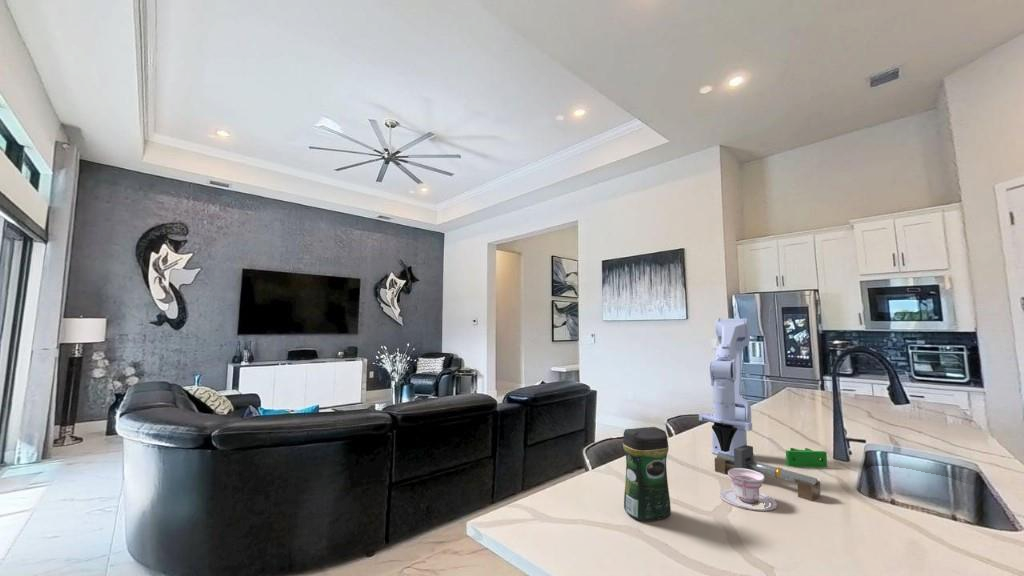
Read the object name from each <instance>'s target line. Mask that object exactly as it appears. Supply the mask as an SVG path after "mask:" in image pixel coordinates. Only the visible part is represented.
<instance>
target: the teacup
mask: <svg viewBox="0 0 1024 576" xmlns="http://www.w3.org/2000/svg"><path fill="white" fill-rule="evenodd" d="M727 475H728V477H729V478H731V482H732V483H733V487H732V488H726V489H722V490H721V491H720V492H719V497H720V499H722V501H724V502H726V503H728V504H729V505H732V506H734V507H737V508H741V509H744V510H749V511H757V512H769V511H773V510H776V509H777V507H778V504H777V501H776V500H774V498H772V497H770V496H768V495H766V494H765V493H762V492H760V488H761V487H762V484H763V483H764V481H765V478H766V477H765V475H764V474H763V473H760V472H757V471H754V470H750V469H744V468H733V469H730V470H729V471H728V473H727ZM737 498H738V499H737ZM756 501H758V503H759V502H760V503H763V504H764V503H765V505H764V508H765V509H753V508H750V507H752V505H753V506H755V505H757V504H758V503H755V502H756ZM753 503H754V504H753ZM769 503H771V506H770V507H768V506H769ZM766 507H768V508H766Z"/></svg>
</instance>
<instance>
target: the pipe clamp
mask: <svg viewBox="0 0 1024 576" xmlns="http://www.w3.org/2000/svg"><path fill="white" fill-rule="evenodd" d="M827 455H828V453H827V451H824V450H812V449H810V448H807V447H806V448H805V449H798V448H794V447H790V450H785V462H786V463H785V465H786V466H787V467H789V466H793V467H792V468H828V458H827Z"/></svg>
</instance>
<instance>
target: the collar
mask: <svg viewBox="0 0 1024 576" xmlns="http://www.w3.org/2000/svg"><path fill="white" fill-rule="evenodd" d="M744 459H747V460H751V461H754V447H753V446H752V445H748V444H747V445H744V446H741V447H738V448H735V449H734V468H744V469H746V468H745V461H744Z"/></svg>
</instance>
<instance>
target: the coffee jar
mask: <svg viewBox="0 0 1024 576" xmlns="http://www.w3.org/2000/svg"><path fill="white" fill-rule="evenodd" d="M622 447H623V450H624V453H625V459H626V460H625V463H626V464H625V465H626V466H625V469H626V470H625V484H624V495H623V497H624V498H623V508H624V511H625V512H626V514H628V516H630V517H631V518H633V519H636V520H639V521H642V522H647V521H649V522H650V521H657V520H661V519H665V518H668V517H670V516H671V513H672V509H671V498H670V492H669V483H668V474H667V473H668V471H667V458H668V457H667V456H668V453H669V442H668V436H667V433H666V431H665V430H664V429H661V428H660V427H656V426H649V427H648V426H647V427H646V426H645V427H636V428H626V429H624V431H623V440H622Z"/></svg>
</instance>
